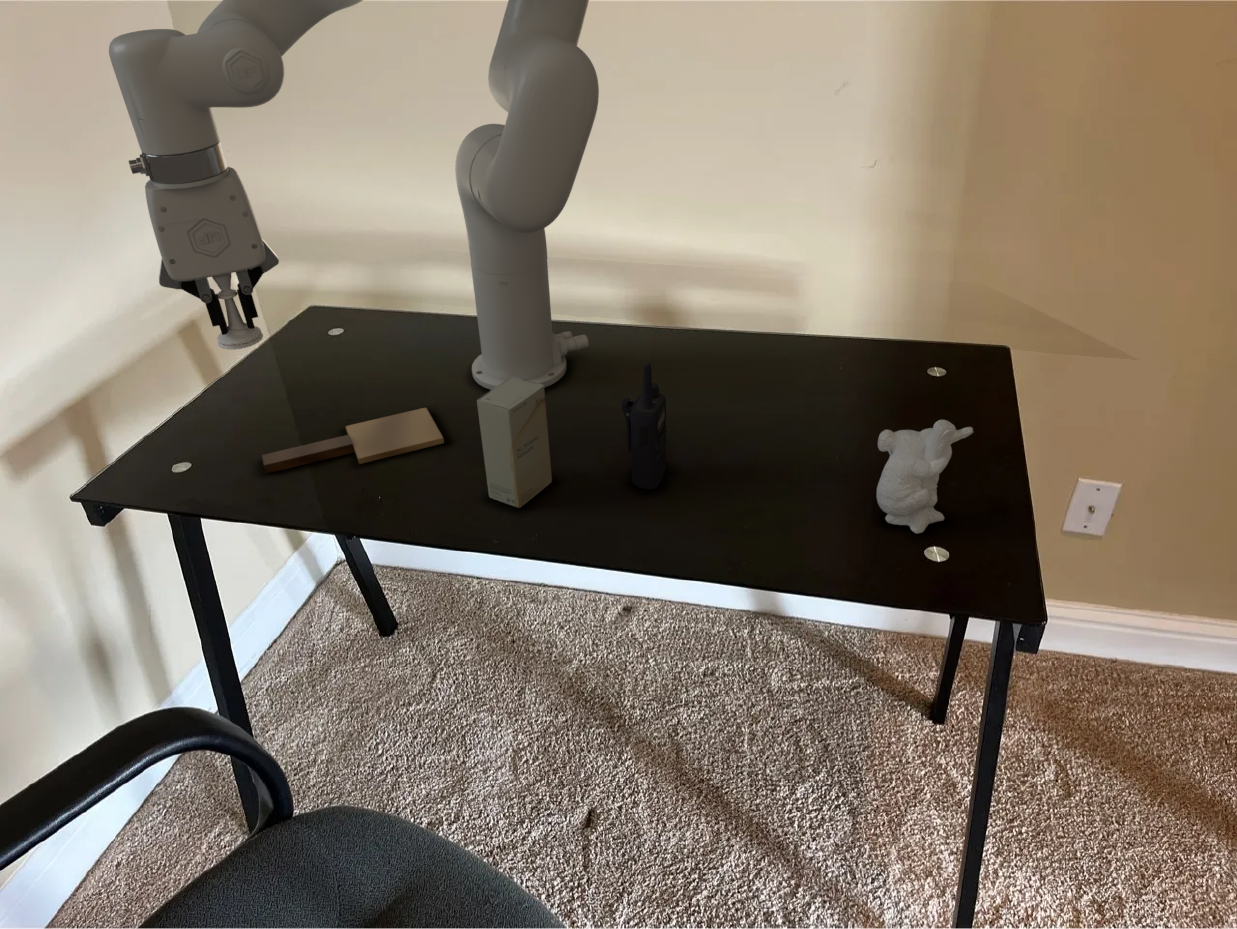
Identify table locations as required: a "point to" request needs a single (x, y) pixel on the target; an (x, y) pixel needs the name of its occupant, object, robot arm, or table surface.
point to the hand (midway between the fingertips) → (237, 325)
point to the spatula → (365, 441)
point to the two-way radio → (647, 433)
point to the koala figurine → (915, 473)
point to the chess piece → (234, 319)
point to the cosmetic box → (515, 441)
